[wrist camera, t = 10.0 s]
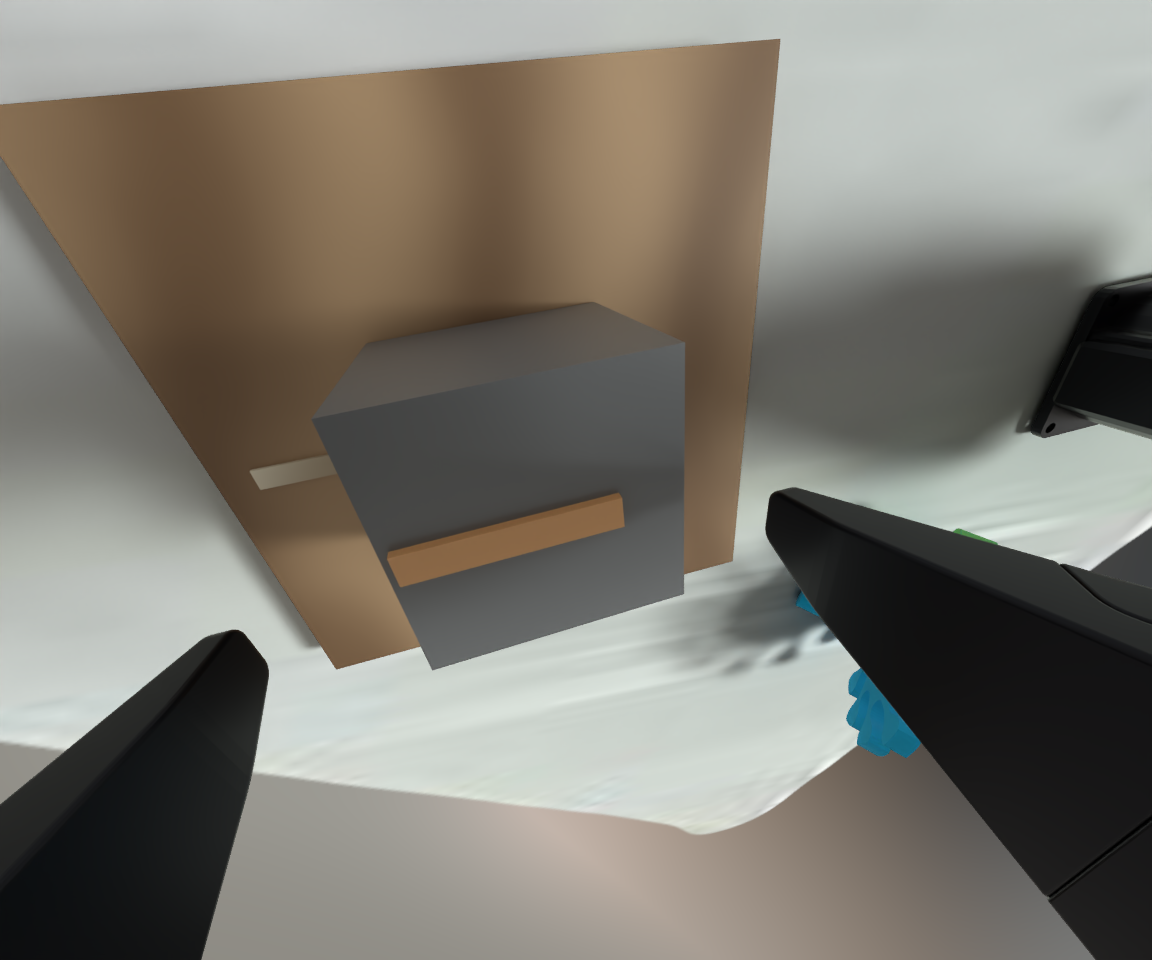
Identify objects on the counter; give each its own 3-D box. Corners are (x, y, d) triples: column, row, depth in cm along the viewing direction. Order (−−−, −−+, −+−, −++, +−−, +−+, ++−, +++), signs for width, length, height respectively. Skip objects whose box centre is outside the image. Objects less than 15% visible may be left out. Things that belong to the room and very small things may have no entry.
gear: (863, 686, 26) (901, 824, 17) (763, 634, 28) (750, 731, 19) (966, 522, 23) (1077, 584, 14) (845, 478, 25) (876, 507, 16)
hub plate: (750, 56, 11) (918, -44, 7) (717, 543, 19) (786, 624, 15) (25, 122, 9) (-339, 27, 5) (343, 643, 17) (309, 769, 13)
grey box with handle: (593, 301, 12) (690, 345, 7) (611, 486, 15) (687, 600, 10) (366, 343, 11) (307, 423, 6) (436, 531, 14) (432, 678, 9)
